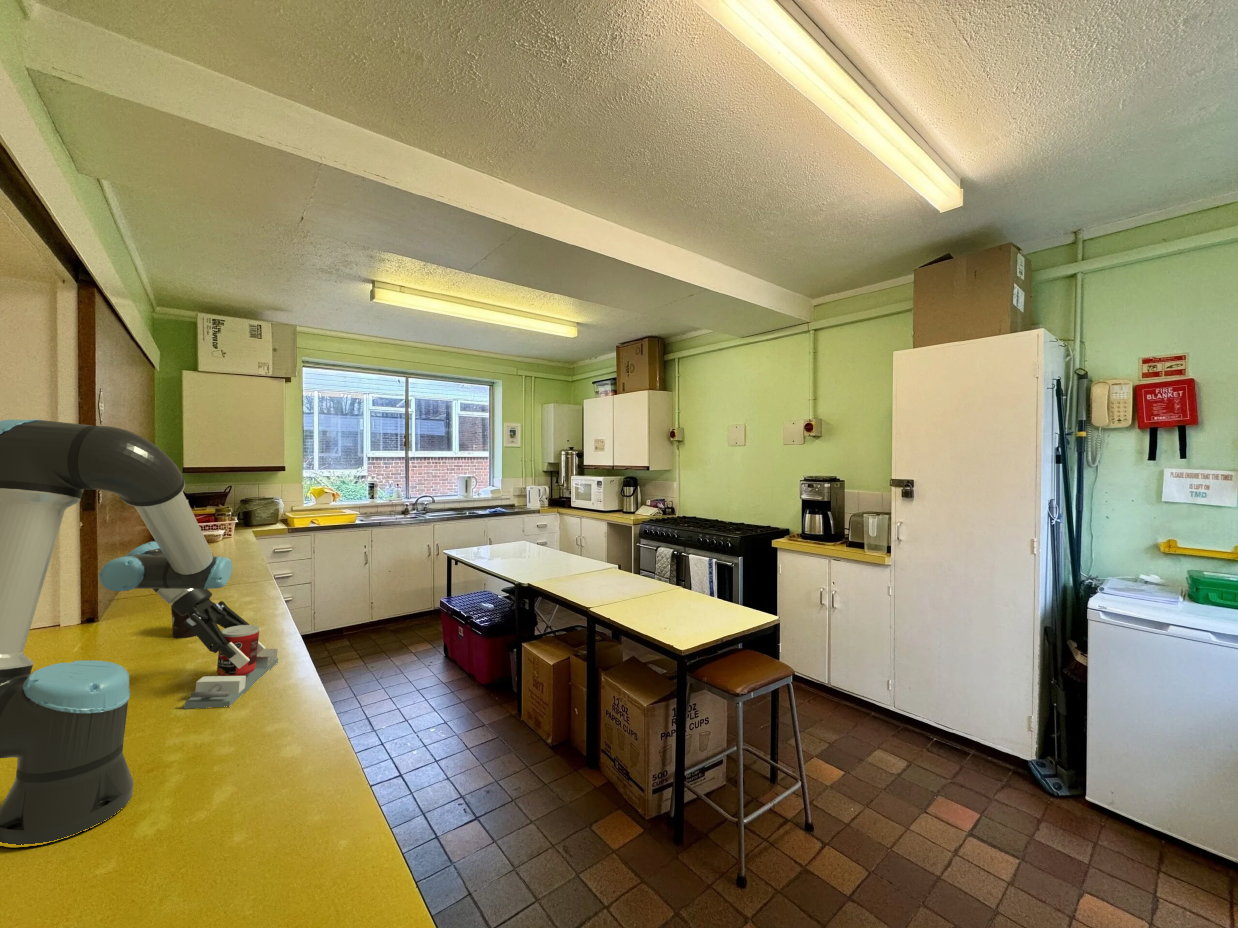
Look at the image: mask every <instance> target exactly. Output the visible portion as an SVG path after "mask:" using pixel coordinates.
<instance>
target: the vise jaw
mask: <svg viewBox="0 0 1238 928" xmlns="http://www.w3.org/2000/svg"><path fill="white" fill-rule="evenodd" d="M277 658H278V648H265V649H263V650H262V651H261V652H260V653H258V654H257V658H256V666H255V668H267V667H268V666H270V665H271V664H272V663H273V662H274V661H275V660H276V659H277Z"/></svg>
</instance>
